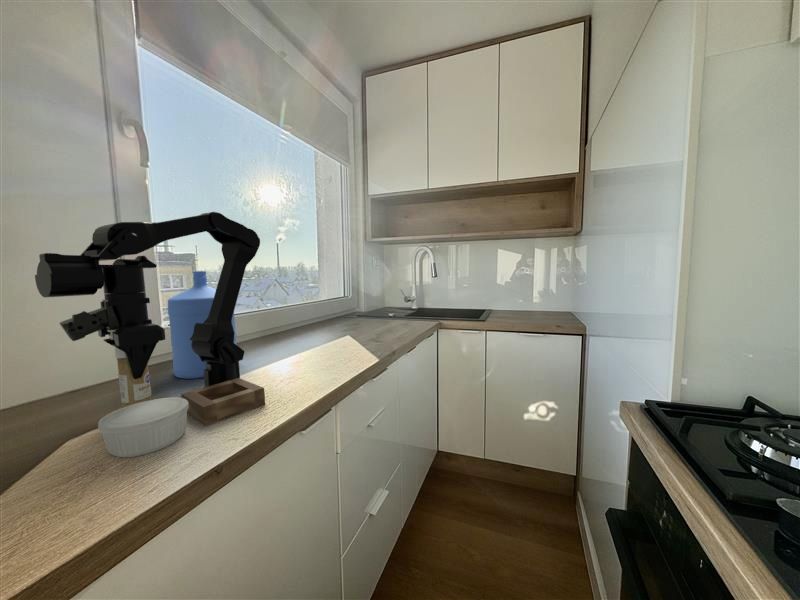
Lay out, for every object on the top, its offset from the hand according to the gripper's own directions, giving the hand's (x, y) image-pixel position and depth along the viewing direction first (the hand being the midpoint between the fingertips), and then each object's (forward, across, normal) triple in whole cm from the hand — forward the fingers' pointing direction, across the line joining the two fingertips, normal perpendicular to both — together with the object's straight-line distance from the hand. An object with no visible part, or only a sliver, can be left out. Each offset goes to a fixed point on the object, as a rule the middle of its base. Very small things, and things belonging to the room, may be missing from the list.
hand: (134, 376), depth 58 cm
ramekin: (+8, +13, -1) cm, 15 cm away
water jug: (+8, -22, +20) cm, 31 cm away
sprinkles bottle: (+8, 0, 0) cm, 8 cm away
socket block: (+8, +10, +12) cm, 17 cm away
